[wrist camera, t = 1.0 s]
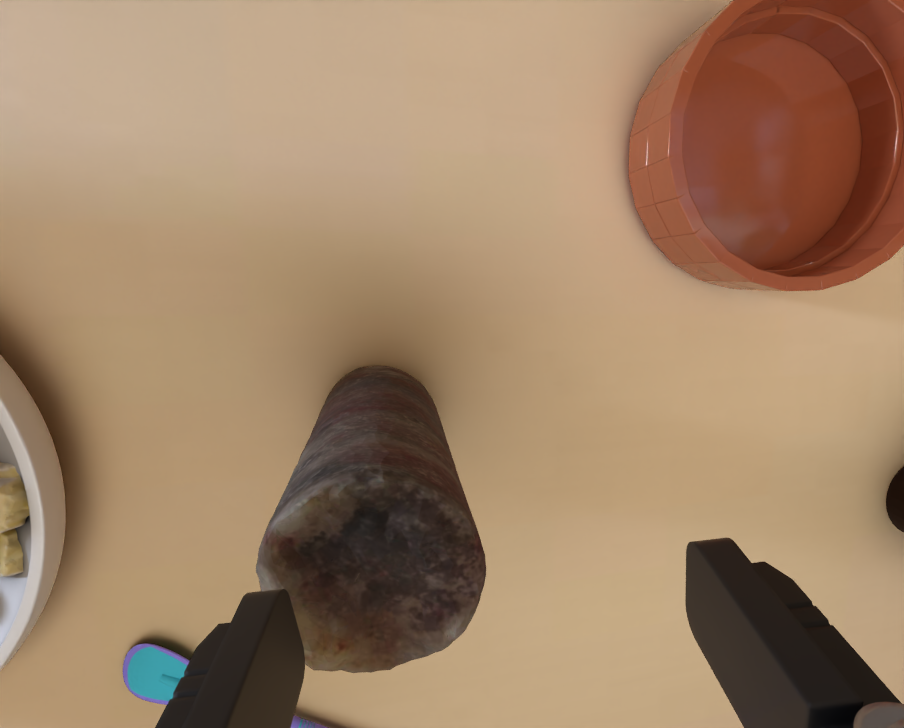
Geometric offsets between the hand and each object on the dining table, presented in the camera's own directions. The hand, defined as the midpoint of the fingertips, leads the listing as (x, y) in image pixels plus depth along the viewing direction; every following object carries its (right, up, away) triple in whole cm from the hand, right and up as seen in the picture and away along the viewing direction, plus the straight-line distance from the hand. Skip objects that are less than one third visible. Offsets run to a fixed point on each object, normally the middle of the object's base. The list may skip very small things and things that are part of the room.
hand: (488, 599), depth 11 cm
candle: (-5, +1, +25) cm, 26 cm away
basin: (+18, +18, +25) cm, 36 cm away
